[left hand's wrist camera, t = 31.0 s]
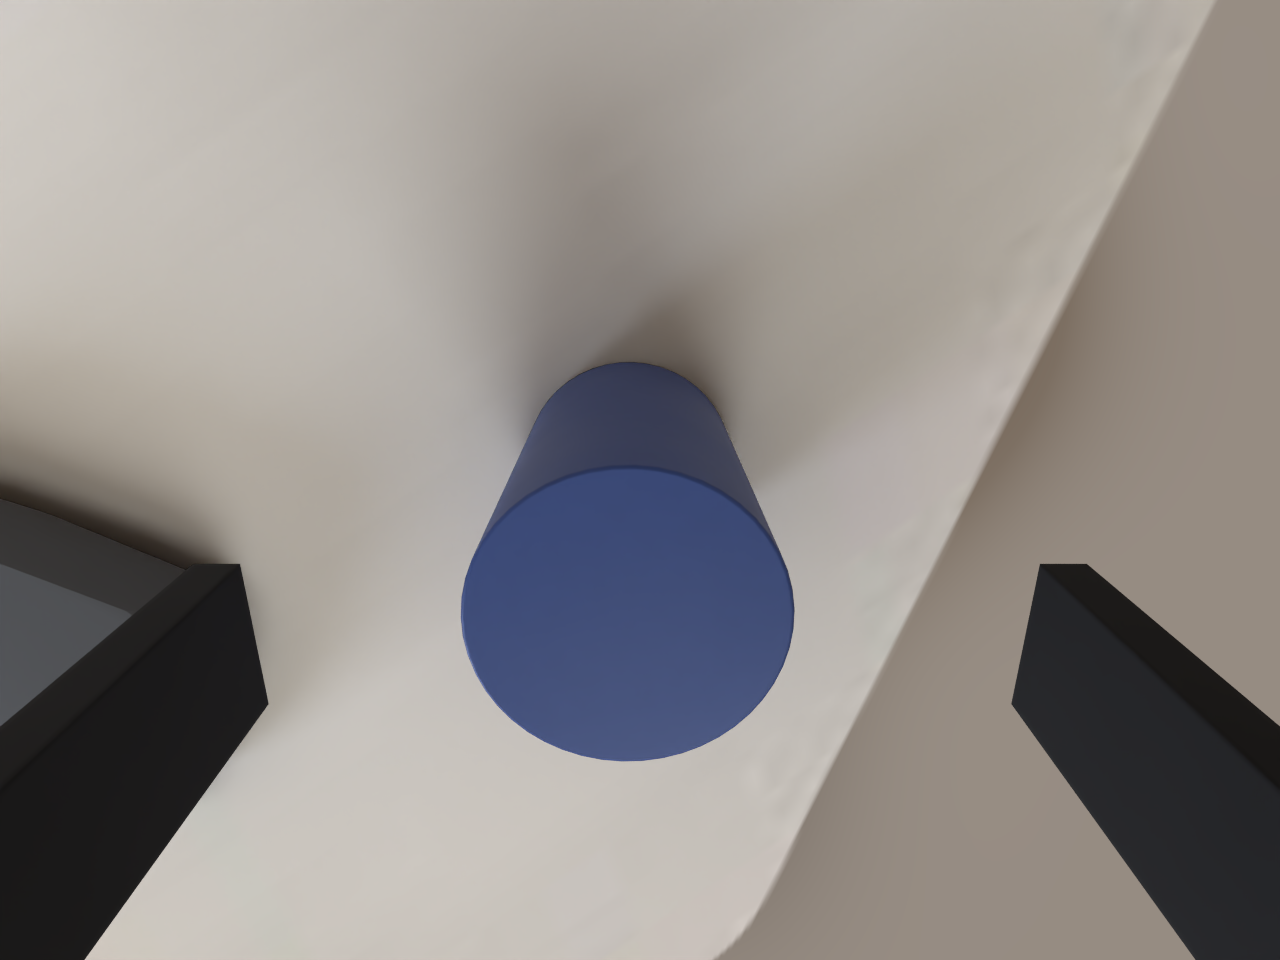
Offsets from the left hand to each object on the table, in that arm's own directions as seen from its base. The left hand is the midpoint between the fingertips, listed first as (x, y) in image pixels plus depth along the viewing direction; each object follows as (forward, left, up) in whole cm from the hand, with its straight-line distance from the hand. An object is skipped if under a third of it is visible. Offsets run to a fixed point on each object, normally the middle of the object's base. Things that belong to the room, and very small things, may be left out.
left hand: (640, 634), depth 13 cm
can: (0, +1, -12) cm, 12 cm away
